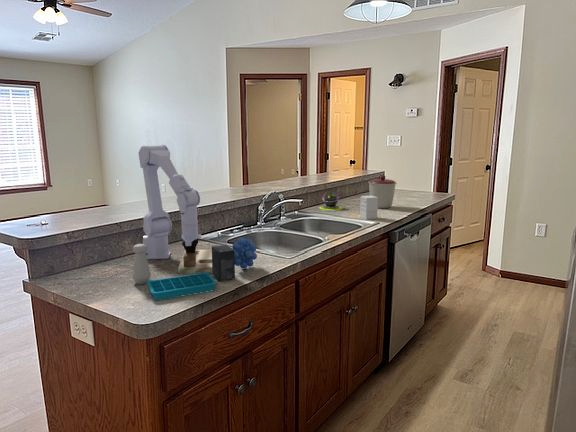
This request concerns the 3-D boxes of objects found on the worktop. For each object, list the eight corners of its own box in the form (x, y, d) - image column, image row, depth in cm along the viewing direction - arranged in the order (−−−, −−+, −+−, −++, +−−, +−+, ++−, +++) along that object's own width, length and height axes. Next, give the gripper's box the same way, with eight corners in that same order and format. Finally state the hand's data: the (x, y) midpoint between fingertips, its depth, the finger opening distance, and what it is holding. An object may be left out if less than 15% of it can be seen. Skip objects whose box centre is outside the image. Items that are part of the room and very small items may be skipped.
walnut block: (183, 267, 151) (183, 256, 150) (185, 263, 155) (184, 253, 154) (195, 266, 151) (194, 256, 150) (196, 263, 155) (195, 252, 154)
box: (235, 279, 145) (234, 249, 143) (219, 281, 142) (218, 251, 140) (227, 272, 152) (226, 243, 150) (212, 274, 149) (211, 246, 147)
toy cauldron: (315, 209, 271) (315, 192, 268) (324, 205, 283) (325, 189, 281) (336, 211, 263) (337, 193, 261) (345, 207, 276) (346, 190, 274)
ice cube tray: (146, 289, 136) (146, 281, 135) (208, 280, 145) (207, 271, 144) (152, 303, 126) (152, 293, 125) (218, 292, 135) (218, 283, 134)
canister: (363, 204, 285) (365, 173, 281) (389, 204, 287) (391, 173, 283) (371, 210, 267) (373, 176, 263) (399, 209, 269) (401, 176, 265)
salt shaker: (133, 286, 138) (130, 248, 135) (132, 280, 143) (129, 243, 140) (152, 283, 140) (149, 246, 137) (150, 278, 145) (147, 241, 143)
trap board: (178, 273, 150) (177, 268, 149) (185, 254, 172) (184, 250, 172) (212, 272, 151) (212, 267, 151) (215, 253, 174) (214, 249, 173)
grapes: (239, 275, 148) (238, 242, 146) (227, 270, 153) (226, 238, 151) (264, 268, 156) (263, 236, 154) (252, 263, 161) (252, 233, 159)
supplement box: (370, 216, 248) (371, 195, 246) (377, 219, 241) (378, 197, 239) (359, 217, 246) (360, 195, 243) (365, 219, 239) (366, 197, 236)
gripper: (199, 228, 147) (200, 265, 149) (202, 219, 161) (203, 253, 164) (178, 228, 146) (180, 266, 149) (183, 219, 160) (184, 254, 163)
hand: (191, 259), depth 156 cm, fingers closed
